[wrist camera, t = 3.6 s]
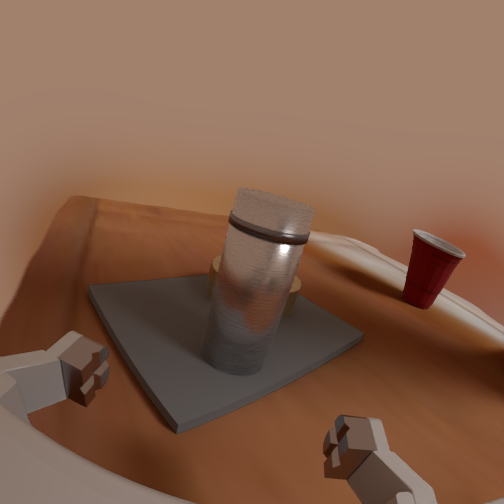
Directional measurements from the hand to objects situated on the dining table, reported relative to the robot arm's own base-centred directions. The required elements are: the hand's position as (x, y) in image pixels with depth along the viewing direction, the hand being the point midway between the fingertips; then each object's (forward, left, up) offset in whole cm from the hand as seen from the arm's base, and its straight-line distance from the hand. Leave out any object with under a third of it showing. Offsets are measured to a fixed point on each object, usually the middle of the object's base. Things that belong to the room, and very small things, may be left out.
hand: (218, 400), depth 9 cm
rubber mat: (-13, -12, -8) cm, 19 cm away
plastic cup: (-49, -4, -8) cm, 50 cm away
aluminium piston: (-9, -8, -7) cm, 14 cm away
